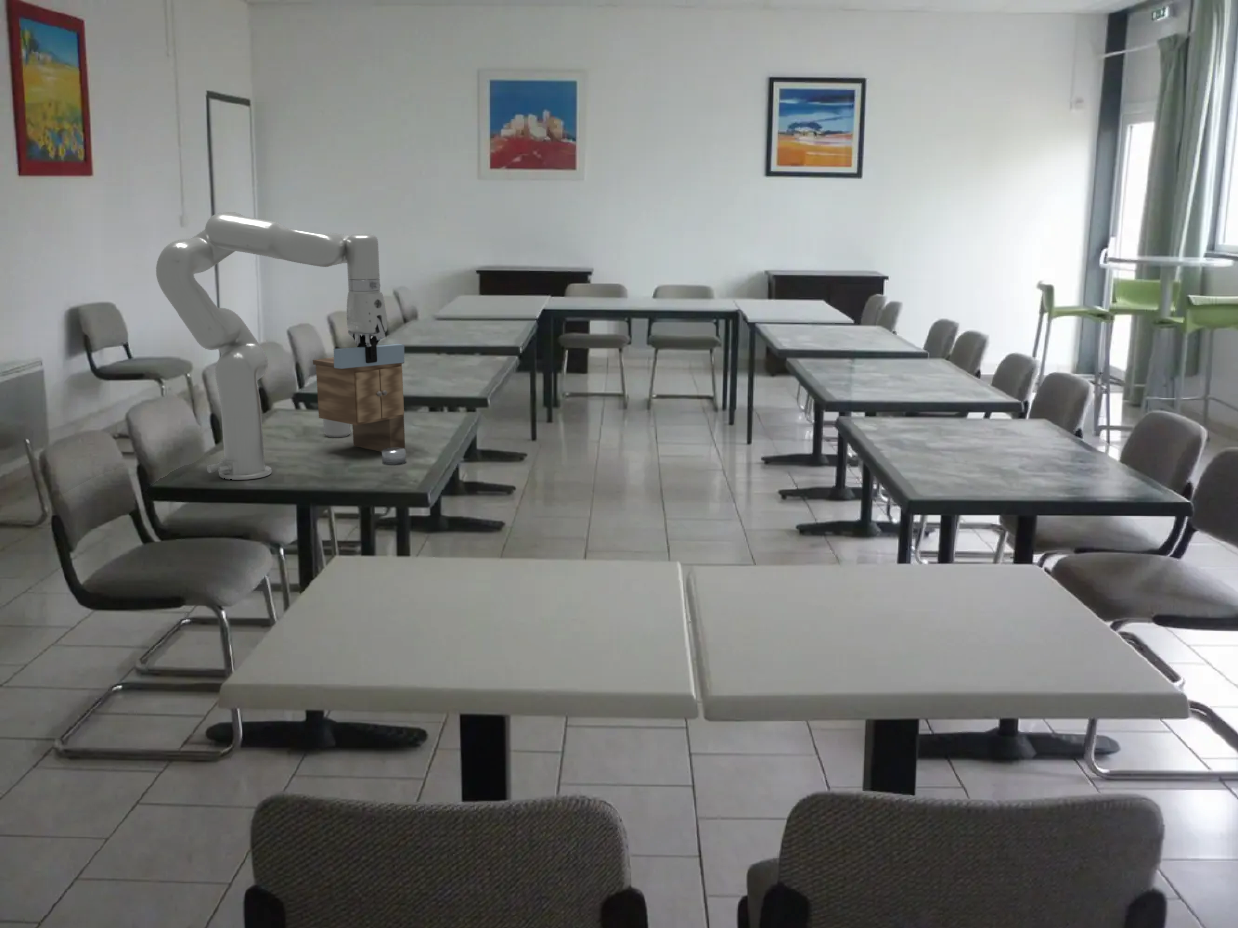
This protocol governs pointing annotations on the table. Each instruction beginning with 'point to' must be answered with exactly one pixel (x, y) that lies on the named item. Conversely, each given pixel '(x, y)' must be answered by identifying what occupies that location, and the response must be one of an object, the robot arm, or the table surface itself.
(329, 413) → the cabinet
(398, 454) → the puck
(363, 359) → the slat
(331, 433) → the can
